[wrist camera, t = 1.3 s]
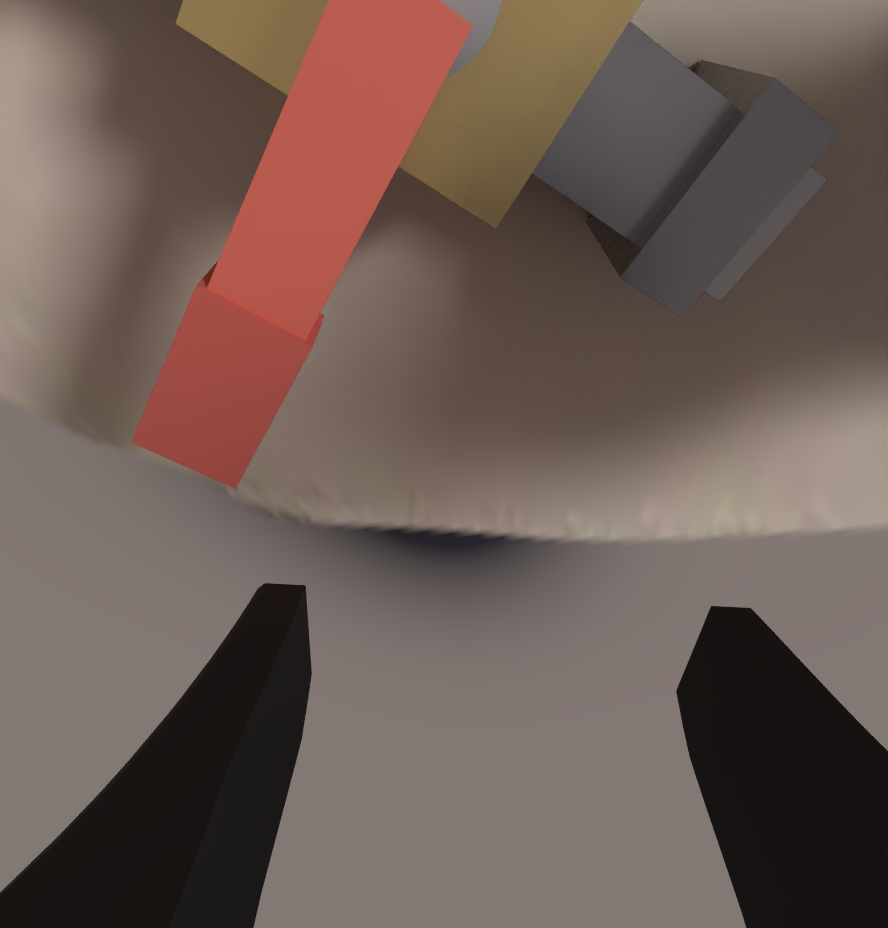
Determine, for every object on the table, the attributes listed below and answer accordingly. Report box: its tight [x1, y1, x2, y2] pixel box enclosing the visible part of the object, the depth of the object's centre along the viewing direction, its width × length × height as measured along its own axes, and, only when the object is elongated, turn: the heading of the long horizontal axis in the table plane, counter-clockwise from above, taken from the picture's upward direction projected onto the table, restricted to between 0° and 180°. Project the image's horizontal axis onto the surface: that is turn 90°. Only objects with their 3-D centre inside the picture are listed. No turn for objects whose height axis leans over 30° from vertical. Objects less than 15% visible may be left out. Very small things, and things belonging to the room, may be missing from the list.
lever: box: [132, 0, 502, 489], centre depth 11 cm, size 10×2×2 cm, turn 149°
